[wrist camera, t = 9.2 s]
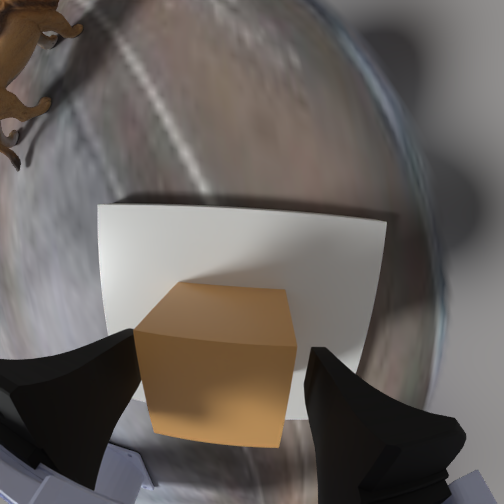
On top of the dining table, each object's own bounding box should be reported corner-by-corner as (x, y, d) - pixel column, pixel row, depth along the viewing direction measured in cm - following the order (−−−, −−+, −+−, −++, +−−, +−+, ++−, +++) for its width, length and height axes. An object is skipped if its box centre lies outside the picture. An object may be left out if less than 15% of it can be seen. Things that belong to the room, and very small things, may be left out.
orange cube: (182, 367, 14) (154, 432, 9) (178, 282, 13) (133, 330, 8) (275, 376, 13) (278, 447, 9) (285, 289, 12) (297, 346, 8)
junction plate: (130, 383, 16) (99, 430, 11) (112, 203, 13) (52, 210, 9) (335, 403, 16) (352, 458, 11) (374, 219, 13) (426, 232, 8)
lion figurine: (56, 9, 10) (-3, -30, 1) (104, -8, 10) (46, -65, 1) (7, 172, 13) (-84, 177, 4) (47, 170, 13) (-65, 172, 4)
